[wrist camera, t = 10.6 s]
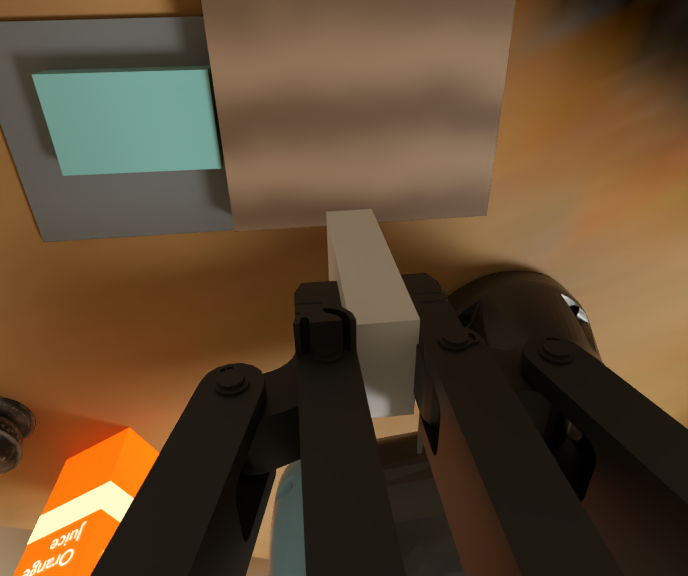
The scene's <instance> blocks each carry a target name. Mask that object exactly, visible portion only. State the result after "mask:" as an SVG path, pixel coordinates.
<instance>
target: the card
mask: <svg viewBox="0 0 688 576" xmlns="http://www.w3.org/2000/svg"><path fill="white" fill-rule="evenodd" d="M32 78H33V81H34V84H35V87H36V91H37V94H38V97H39V100H40V103H41V107H42V110H43V113H44V116H45V119H46V123H47V126H48V129H49V132H50V136H51V139H52V142H53V145H54V148H55V152H56V155H57V158H58V161H59V164H60V168H61V171H62V174H63V176H69V175H91V174H113V173H135V172H157V171H178V170H200V169H222V166H223V163H224V155H223V148H222V141H221V134H220V127H219V121H218V114H217V107H216V100H215V93H214V86H213V79H212V72H211V66H175V67H139V68H103V69H67V70H44V71H41V72H38V73H35V74H32Z"/></svg>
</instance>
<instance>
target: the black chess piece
mask: <svg viewBox="0 0 688 576" xmlns="http://www.w3.org/2000/svg"><path fill="white" fill-rule="evenodd" d="M35 426H36V421H35V418H34V415H33V414H32V413H31V411H30V410H29V409H28V408H26V407H25V406H24V405H22V404H20V403H19V402H17V401H14V400H11V399H8V398H1V397H0V474H1V473H5V472H8V471H10V470H12V469H14V468H15V467H16V466H17V465H18V464H19V463H20V461H21V459H22V447H23V439H24V438H26V437H28V436H29V435H30V434H31V433H32V432H33V431H34V429H35Z"/></svg>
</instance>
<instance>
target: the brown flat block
mask: <svg viewBox="0 0 688 576" xmlns="http://www.w3.org/2000/svg"><path fill="white" fill-rule="evenodd" d="M515 3H516V0H201V4H202V11H203V18H204V24H205V31H206V38H207V45H208V52H209V59H210V66H211V72H212V79H213V86H214V93H215V100H216V107H217V114H218V121H219V127H220V134H221V141H222V148H223V155H224V162H225V169H226V176H227V182H228V189H229V196H230V203H231V210H232V217H233V224H234V230H235V232H237V231H252V230H268V229H284V228H300V227H315V226H327V220H326V212H330V211H346V210H363V209H372V211H373V213H374V215H375V218H376V220H377V222H394V221H410V220H426V219H442V218H457V217H473V216H487V209H488V202H489V195H490V187H491V180H492V172H493V165H494V158H495V150H496V143H497V136H498V128H499V121H500V114H501V106H502V99H503V92H504V84H505V77H506V70H507V62H508V55H509V47H510V40H511V33H512V25H513V18H514V11H515Z"/></svg>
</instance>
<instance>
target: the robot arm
mask: <svg viewBox="0 0 688 576" xmlns="http://www.w3.org/2000/svg"><path fill="white" fill-rule="evenodd" d="M326 220H327V244H328V267H329V281H326V282H312V283H301V284H300V286H299V287H298V289H297V290H296V291H295V293H294V300H295V320H294V323H293V328H294V339H295V350H296V353H295V355H294V356H293V358H292V359H291V360H290V361H289V362H288V363H287V364H285V365H284V366H282V367H280V368H278V369H276V370H273V371H270V372H267V373H264V374H262V372H261V370H259V369H258V368H256V367H254V366H253V365H248V364H243V363H236V364H228V365H224V366H221V367H218V368H216V369H214V370H213V371H211V372H209V373H208V374H207V375H206V376H205V377H204V378H203V379H202V380H201V381H200V383H199V385H198V387H197V388H196V390H195V392H194V394H193V396H192V397H191V399H190V401H189V403H188V404H187V406H186V408H185V410H184V411H183V413H182V415H181V417H180V418H179V420H178V422H177V424H176V425H175V427H174V429H173V431H172V432H171V434H170V436H169V438H168V439H167V441H166V443H165V445H164V446H163V448H162V450H161V452H160V454H159V455H158V457H157V459H156V461H155V462H154V464H153V466H152V468H151V469H150V471H149V473H148V475H147V476H146V478H145V480H144V482H143V483H142V485H141V487H140V489H139V490H138V492H137V494H136V496H135V497H134V499H133V501H132V503H131V504H130V506H129V508H128V510H127V512H126V513H125V515H124V517H123V519H122V520H121V522H120V524H119V526H118V527H117V529H116V531H115V533H114V534H113V536H112V538H111V540H110V541H109V543H108V545H107V547H106V548H105V550H104V552H103V554H102V555H101V557H100V559H99V561H98V562H97V564H96V566H95V568H94V570H93V571H92V573H91V575H90V576H246V573H247V569H248V566H249V563H250V560H251V556H252V553H253V550H254V546H255V543H256V539H257V536H258V533H259V529H260V526H261V523H262V519H263V516H264V513H265V509H266V506H267V503H268V499H269V496H270V493H271V489H272V486H273V483H274V479H275V476H276V469H277V468H280V467H282V466H285V465H287V464H289V465H288V466H287V468H286V469H285V471H284V472H283V474H282V476H281V479H280V482H279V485H278V488H277V492H276V497H275V502H274V509H273V516H272V524H271V535H270V550H269V576H688V429H687V428H685V427H684V426H683V425H681V424H680V423H679V422H678V421H676V420H675V419H674V418H672V417H671V416H670V415H669V414H667V413H666V412H665V411H663V410H662V409H661V408H659V407H658V406H657V405H656V404H654V403H653V402H652V401H650V400H649V399H648V398H646V397H645V396H644V395H643V394H641V393H640V392H639V391H637V390H636V389H635V388H633V387H632V386H631V385H630V384H628V383H627V382H626V381H624V380H623V379H622V378H621V377H619V376H618V375H617V374H615V373H614V372H613V371H611V370H610V369H609V368H608V367H606V366H605V365H604V363H603V362H602V360H601V357H600V354H599V351H598V348H597V345H596V342H595V338H594V335H593V332H592V329H591V326H590V323H589V320H588V318H587V315H586V313H585V311H584V310H583V308H582V307H581V305H580V304H579V303H578V301H577V300H576V299H575V298H574V297H573V296H572V295H571V294H570V293H569V292H568V291H567V290H566V289H565V288H564V287H563V286H562V285H561V284H559V283H558V282H557V281H555V280H553V279H551V278H549V277H547V276H544V275H541V274H538V273H533V272H525V271H510V272H502V273H497V274H493V275H489V276H486V277H483V278H480V279H478V280H475V281H473V282H471V283H469V284H467V285H465V286H464V287H462V288H460V289H459V290H457V291H456V292H454V293H453V294H452V295H451V296H449V297H448V298H447V297H446V295H445V293H443V290H442V288H441V286H440V284H439V283H438V281H437V280H435V279H434V278H432V277H431V276H429V275H428V274H426V273H418V274H405V275H400V272H399V270H398V268H397V266H396V263H395V261H394V259H393V256H392V254H391V252H390V250H389V247H388V245H387V243H386V240H385V238H384V236H383V234H382V231H381V229H380V227H379V224H378V222H377V220H376V218H375V215H374V213H373V211H372V209H363V210H346V211H330V212H326ZM415 399H416V402H417V405H418V408H419V411H420V413H419V426H418V431H417V432H411V433H406V434H400V435H395V436H389V437H384V438H379V439H376V436H375V432H374V427H373V423H372V418H378V417H388V416H399V415H409V414H414V404H415Z"/></svg>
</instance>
